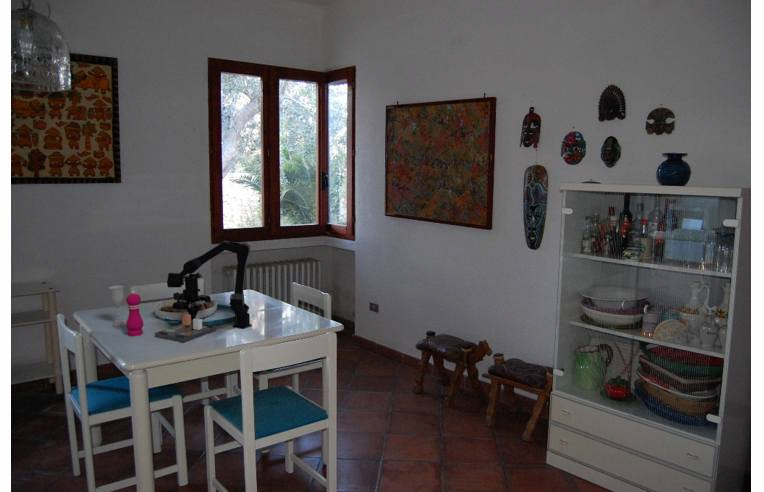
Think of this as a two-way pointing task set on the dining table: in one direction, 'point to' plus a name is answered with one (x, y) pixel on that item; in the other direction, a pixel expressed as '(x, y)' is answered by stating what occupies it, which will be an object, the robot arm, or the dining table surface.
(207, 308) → the bowl
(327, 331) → the dining table surface
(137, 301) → the pepper mill
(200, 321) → the fader
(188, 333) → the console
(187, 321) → the block
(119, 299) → the chalice
